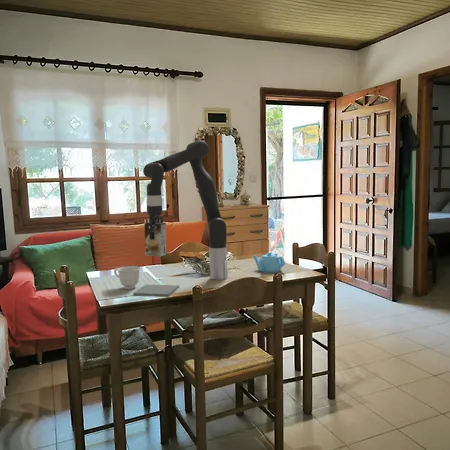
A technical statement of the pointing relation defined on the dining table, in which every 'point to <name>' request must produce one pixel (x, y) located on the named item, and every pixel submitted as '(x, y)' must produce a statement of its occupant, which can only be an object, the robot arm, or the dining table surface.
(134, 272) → the teacup
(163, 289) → the mat
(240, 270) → the dining table surface
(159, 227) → the coffee box
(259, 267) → the teapot
